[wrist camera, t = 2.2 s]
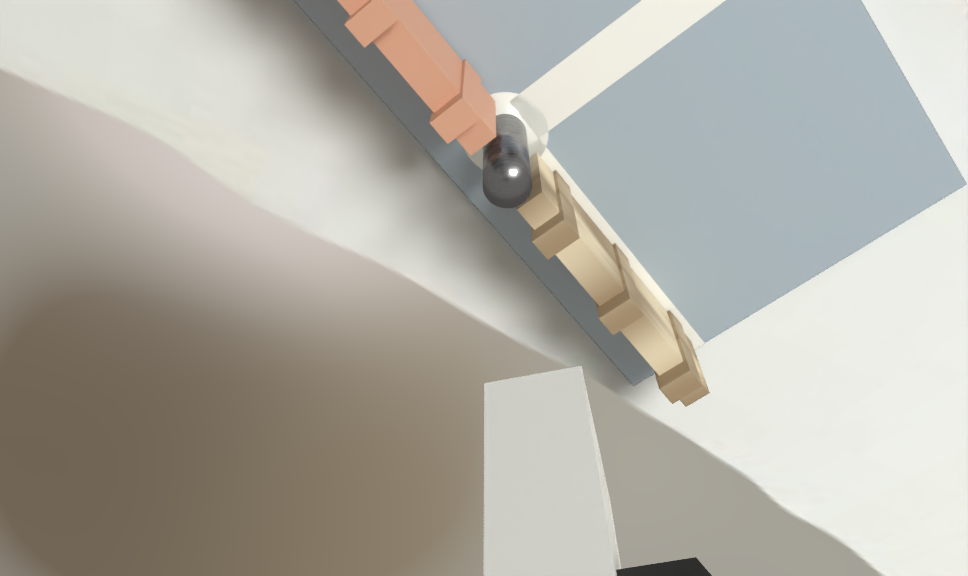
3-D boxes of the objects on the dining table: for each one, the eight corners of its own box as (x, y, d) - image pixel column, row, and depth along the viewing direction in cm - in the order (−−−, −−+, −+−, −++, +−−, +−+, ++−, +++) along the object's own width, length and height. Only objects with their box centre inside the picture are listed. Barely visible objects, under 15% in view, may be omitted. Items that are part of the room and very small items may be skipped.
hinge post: (474, 128, 37) (472, 182, 33) (508, 102, 37) (511, 153, 32) (501, 160, 38) (502, 217, 33) (535, 135, 38) (542, 189, 33)
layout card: (205, -105, 33) (203, -103, 33) (583, -479, 28) (584, -481, 27) (632, 382, 44) (633, 386, 44) (963, 181, 39) (967, 184, 38)
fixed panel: (511, 171, 38) (514, 221, 34) (539, 150, 37) (546, 198, 33) (667, 356, 43) (686, 420, 38) (694, 340, 42) (716, 402, 38)
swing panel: (498, 99, 36) (499, 142, 32) (469, 121, 37) (466, 166, 33) (287, -161, 32) (256, -150, 27) (257, -131, 32) (223, -116, 28)
